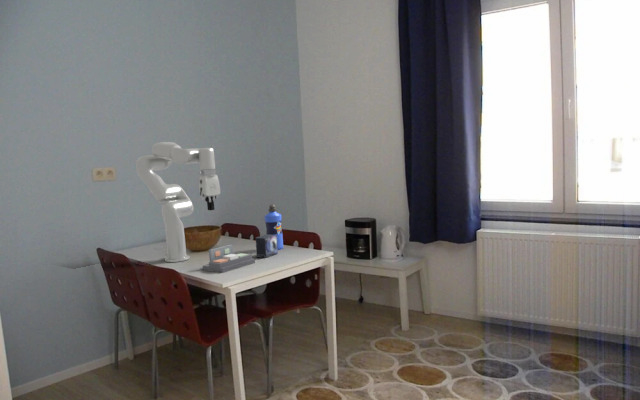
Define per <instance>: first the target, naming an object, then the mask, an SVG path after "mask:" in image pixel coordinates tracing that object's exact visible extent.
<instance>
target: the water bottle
mask: <svg viewBox="0 0 640 400" xmlns="http://www.w3.org/2000/svg"><path fill="white" fill-rule="evenodd" d="M282 218H283V217H282V214H281V213H279V212H277V208H276V205H275V204H274V203H270V204H269V206H268V213H267V214H265V215H264V223H265V227H266V232H265V233H266V234H265V235H267V234H270V235H277V251H281V249H282V250H283V249H284V238H283V237H284V235H283V230H282Z"/></svg>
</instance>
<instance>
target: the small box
mask: <svg viewBox="0 0 640 400" xmlns="http://www.w3.org/2000/svg"><path fill="white" fill-rule="evenodd" d="M255 247H256V249H255V250H256V258H263V259H267V258H270V257H272V256H276V255H278V251H279V250H277V235H270V234H267V235H266V234H264V235H260V236H257V237H255Z"/></svg>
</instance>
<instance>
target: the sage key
mask: <svg viewBox="0 0 640 400" xmlns="http://www.w3.org/2000/svg"><path fill="white" fill-rule="evenodd" d="M236 254H237V255H238V257H243V256H247V255H248V253H241V252H240V253H236Z"/></svg>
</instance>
